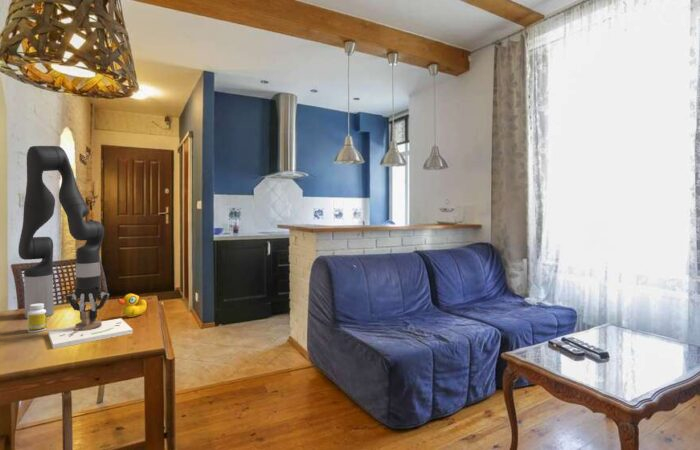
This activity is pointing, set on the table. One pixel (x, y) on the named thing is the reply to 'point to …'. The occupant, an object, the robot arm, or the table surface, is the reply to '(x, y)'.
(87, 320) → the knob
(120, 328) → the dial board
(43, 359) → the table surface
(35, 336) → the table surface
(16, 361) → the table surface
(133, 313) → the duckling
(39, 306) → the supplement bottle
